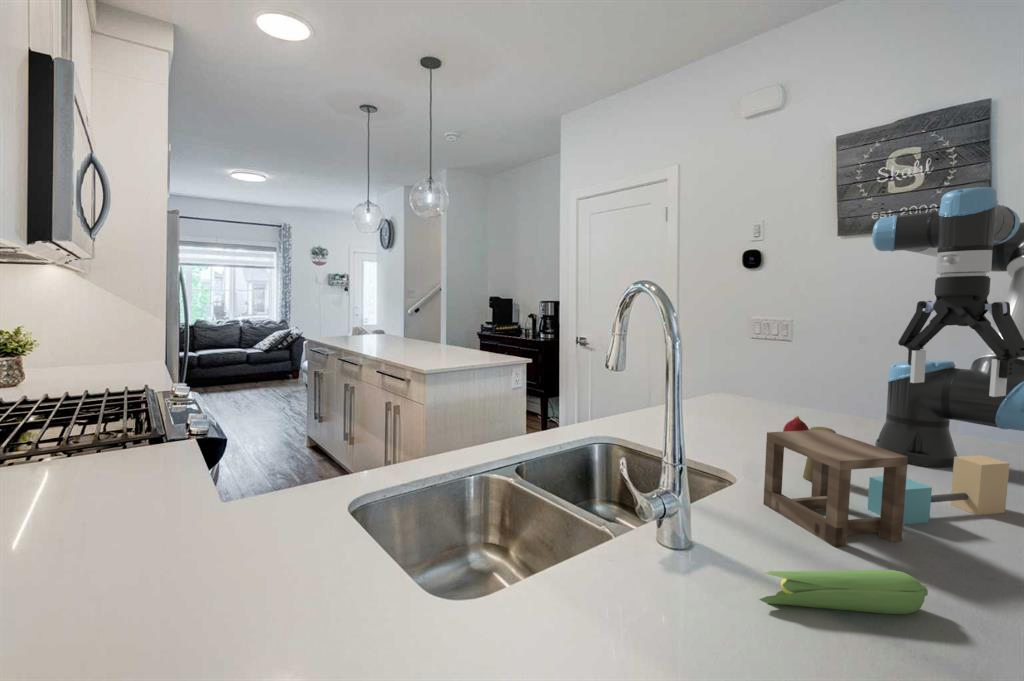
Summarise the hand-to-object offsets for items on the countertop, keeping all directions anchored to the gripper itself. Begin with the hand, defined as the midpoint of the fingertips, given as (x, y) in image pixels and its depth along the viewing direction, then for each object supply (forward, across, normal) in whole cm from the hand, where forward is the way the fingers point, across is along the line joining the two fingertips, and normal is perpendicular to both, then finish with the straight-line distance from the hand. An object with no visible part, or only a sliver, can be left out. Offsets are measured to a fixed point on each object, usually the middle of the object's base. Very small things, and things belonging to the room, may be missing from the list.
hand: (954, 388), depth 93 cm
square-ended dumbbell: (+21, +5, -10) cm, 23 cm away
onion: (+21, -32, -4) cm, 39 cm away
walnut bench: (+20, +4, -32) cm, 38 cm away
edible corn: (+20, +23, -51) cm, 59 cm away
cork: (+21, -12, -17) cm, 30 cm away
